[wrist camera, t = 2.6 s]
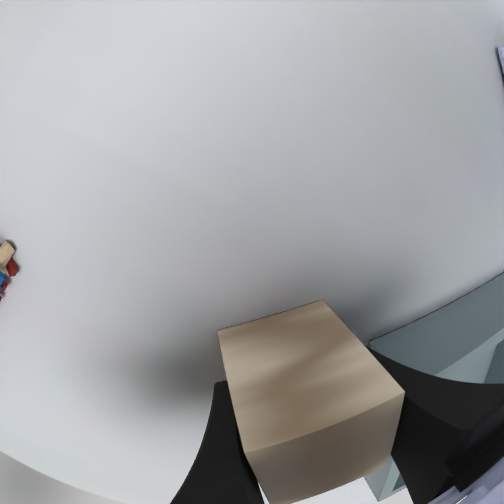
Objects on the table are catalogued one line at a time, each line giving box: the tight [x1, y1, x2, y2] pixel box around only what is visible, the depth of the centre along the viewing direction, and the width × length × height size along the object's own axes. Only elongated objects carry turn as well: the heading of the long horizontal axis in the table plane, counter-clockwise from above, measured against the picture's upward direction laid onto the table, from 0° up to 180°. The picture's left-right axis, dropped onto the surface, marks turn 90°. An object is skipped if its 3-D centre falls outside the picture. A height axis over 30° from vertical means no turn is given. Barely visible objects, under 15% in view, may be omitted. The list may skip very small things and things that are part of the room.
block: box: [217, 300, 405, 504], centre depth 10 cm, size 4×4×6 cm
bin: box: [363, 273, 504, 502], centre depth 15 cm, size 13×14×4 cm
